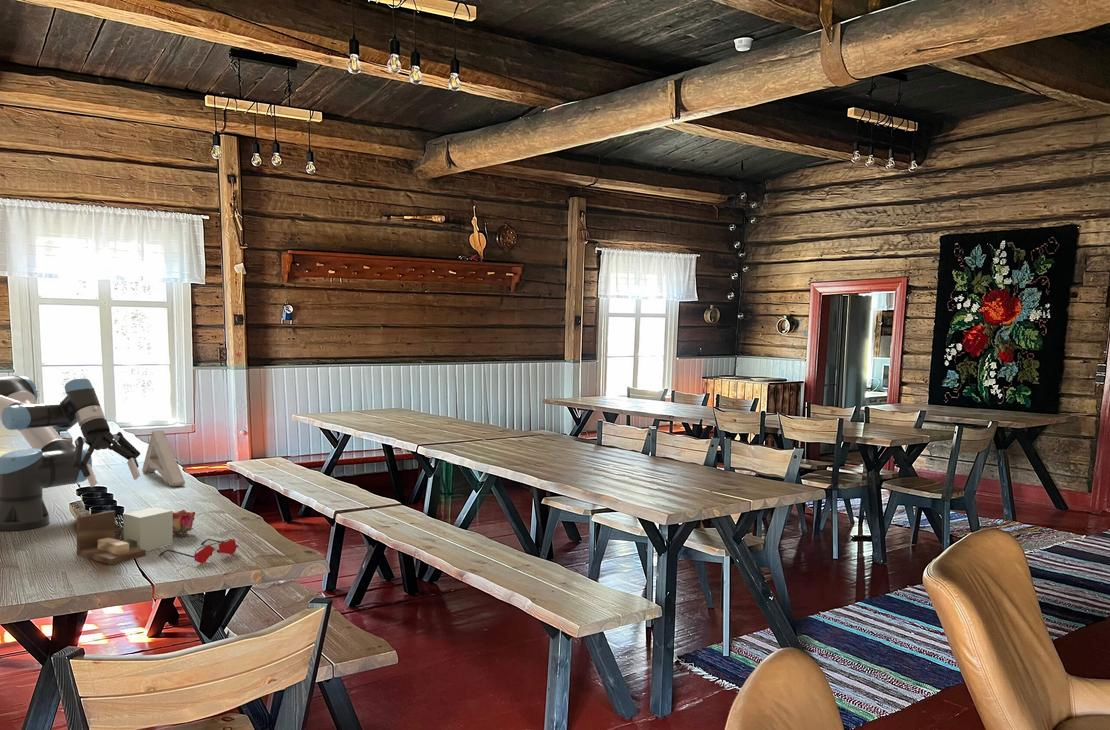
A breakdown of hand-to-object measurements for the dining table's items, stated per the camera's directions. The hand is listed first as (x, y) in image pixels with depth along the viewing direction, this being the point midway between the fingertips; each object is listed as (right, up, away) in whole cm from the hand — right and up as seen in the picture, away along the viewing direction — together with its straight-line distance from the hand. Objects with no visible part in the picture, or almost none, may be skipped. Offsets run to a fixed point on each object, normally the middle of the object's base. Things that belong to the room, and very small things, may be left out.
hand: (116, 481), depth 242 cm
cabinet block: (+17, -17, -14) cm, 28 cm away
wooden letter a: (-24, -11, +76) cm, 80 cm away
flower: (+21, -16, -2) cm, 27 cm away
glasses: (+35, -18, -21) cm, 45 cm away
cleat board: (+12, -17, -24) cm, 32 cm away
